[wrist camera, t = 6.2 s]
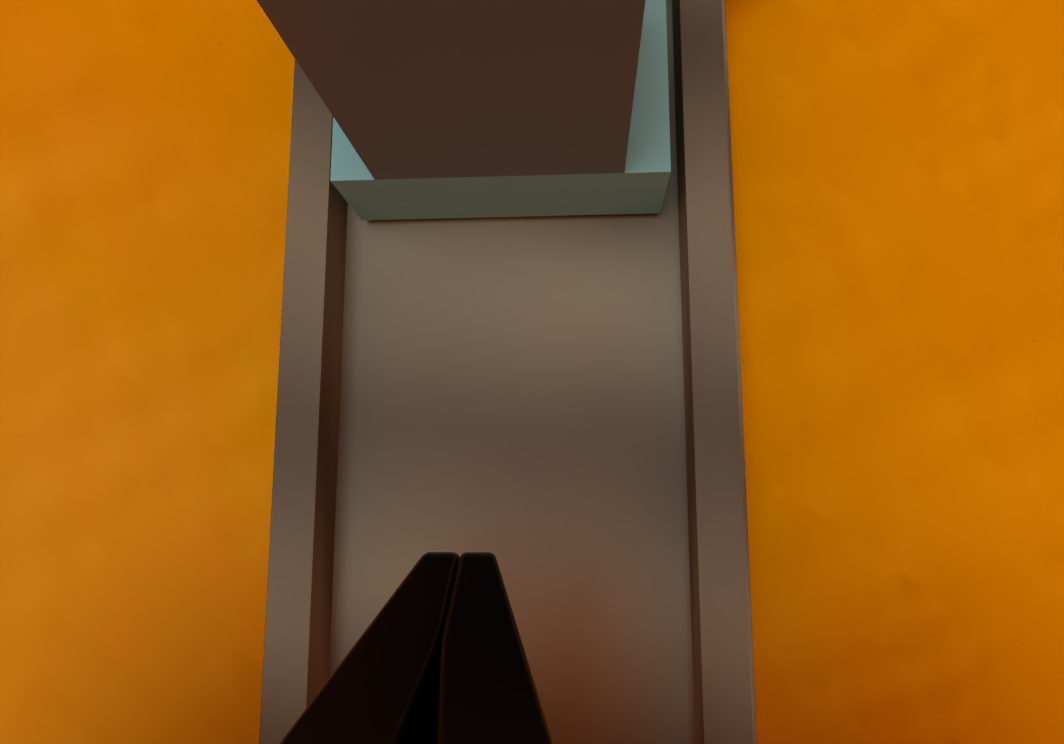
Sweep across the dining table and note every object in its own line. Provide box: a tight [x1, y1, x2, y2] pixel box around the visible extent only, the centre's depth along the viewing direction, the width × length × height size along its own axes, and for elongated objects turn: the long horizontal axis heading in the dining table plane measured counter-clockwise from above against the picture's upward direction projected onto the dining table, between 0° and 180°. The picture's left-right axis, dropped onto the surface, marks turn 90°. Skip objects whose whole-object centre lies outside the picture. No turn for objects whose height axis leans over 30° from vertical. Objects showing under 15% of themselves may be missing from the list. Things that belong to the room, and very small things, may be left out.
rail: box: [259, 0, 757, 744], centre depth 13 cm, size 26×9×6 cm, turn 0°
